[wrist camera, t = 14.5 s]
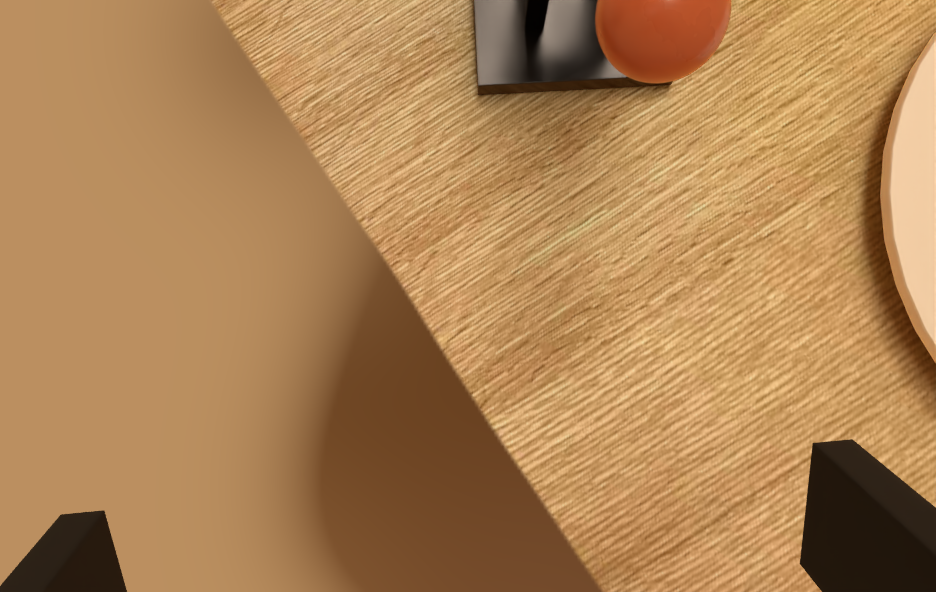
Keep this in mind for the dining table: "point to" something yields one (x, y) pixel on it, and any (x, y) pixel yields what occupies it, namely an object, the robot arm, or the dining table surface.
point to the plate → (913, 195)
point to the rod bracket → (541, 48)
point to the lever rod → (660, 35)
